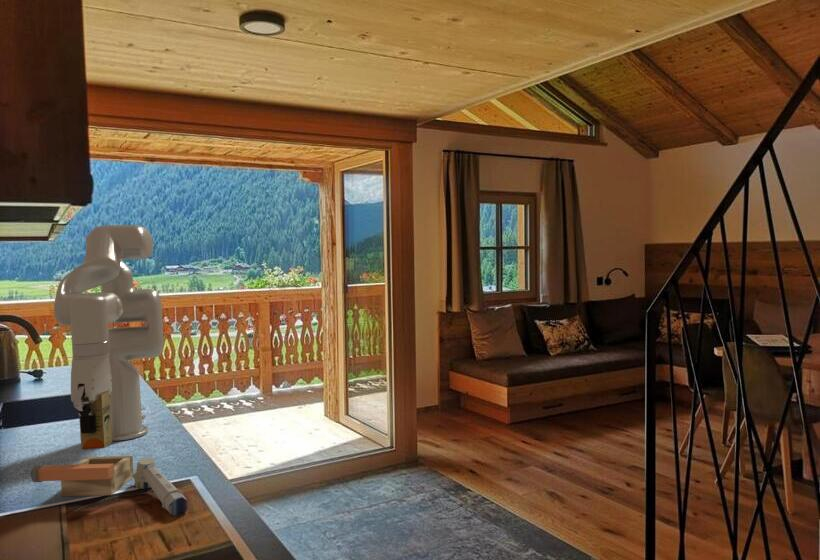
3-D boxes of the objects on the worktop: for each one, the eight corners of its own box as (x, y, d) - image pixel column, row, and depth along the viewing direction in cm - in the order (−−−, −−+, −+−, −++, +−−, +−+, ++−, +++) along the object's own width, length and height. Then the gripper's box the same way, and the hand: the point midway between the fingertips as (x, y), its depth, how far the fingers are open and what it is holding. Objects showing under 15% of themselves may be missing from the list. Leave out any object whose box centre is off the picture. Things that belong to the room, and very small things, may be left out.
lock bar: (41, 478, 136) (40, 462, 135) (115, 476, 135) (114, 460, 135) (31, 484, 132) (30, 468, 132) (107, 482, 132) (106, 466, 132)
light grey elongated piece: (165, 501, 124) (129, 454, 143) (166, 532, 125) (130, 481, 144) (192, 493, 127) (153, 449, 146) (192, 524, 128) (153, 475, 147)
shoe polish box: (81, 449, 140) (78, 396, 139) (89, 442, 144) (86, 391, 144) (104, 447, 140) (101, 395, 140) (112, 441, 145) (109, 390, 144)
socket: (87, 477, 148) (86, 457, 148) (133, 476, 148) (132, 455, 148) (61, 496, 137) (60, 474, 137) (111, 494, 137) (110, 472, 137)
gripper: (93, 344, 150) (98, 419, 151) (52, 357, 133) (58, 441, 134) (125, 343, 150) (129, 418, 151) (88, 356, 133) (92, 439, 134)
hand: (95, 428), depth 142 cm, fingers closed on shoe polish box, 5 cm apart
